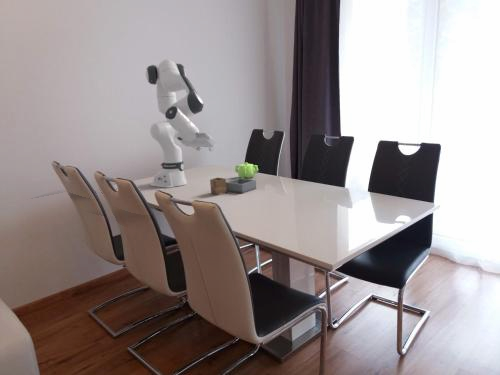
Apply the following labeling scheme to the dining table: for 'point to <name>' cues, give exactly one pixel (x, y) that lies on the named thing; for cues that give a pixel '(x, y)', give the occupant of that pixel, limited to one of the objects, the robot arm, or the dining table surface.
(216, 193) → the walnut crate
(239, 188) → the charcoal crate
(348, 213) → the dining table surface
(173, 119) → the robot arm
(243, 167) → the teapot
